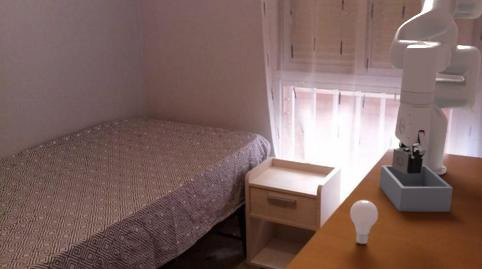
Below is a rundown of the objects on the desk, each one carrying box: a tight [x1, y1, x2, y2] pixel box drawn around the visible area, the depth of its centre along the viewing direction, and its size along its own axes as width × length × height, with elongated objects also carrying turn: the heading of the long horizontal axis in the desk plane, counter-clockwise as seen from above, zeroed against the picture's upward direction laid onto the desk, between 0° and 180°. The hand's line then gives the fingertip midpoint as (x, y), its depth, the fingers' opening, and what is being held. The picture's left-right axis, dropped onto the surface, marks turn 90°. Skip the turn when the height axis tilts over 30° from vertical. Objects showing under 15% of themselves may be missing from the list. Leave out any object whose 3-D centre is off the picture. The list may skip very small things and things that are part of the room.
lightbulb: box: [349, 199, 379, 245], centre depth 108 cm, size 6×6×11 cm
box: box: [379, 164, 454, 213], centre depth 133 cm, size 18×14×7 cm
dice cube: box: [392, 147, 423, 174], centre depth 114 cm, size 5×5×5 cm
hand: (408, 167), depth 114 cm, fingers closed on dice cube, 6 cm apart
